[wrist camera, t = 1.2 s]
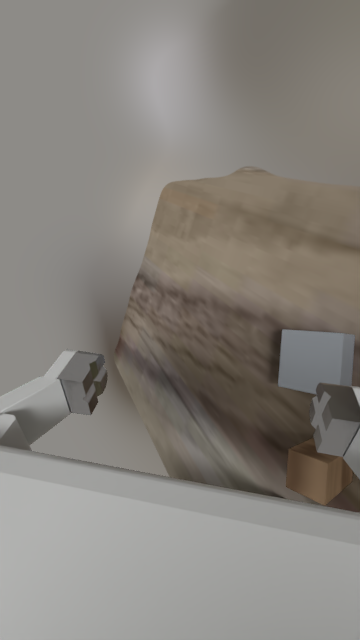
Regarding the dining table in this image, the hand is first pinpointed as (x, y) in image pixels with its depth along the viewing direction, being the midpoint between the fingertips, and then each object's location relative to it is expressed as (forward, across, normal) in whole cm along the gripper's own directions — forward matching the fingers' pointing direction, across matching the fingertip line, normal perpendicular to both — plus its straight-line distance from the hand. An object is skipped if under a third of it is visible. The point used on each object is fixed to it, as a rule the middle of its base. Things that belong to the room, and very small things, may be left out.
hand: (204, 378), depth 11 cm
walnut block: (+21, -19, +34) cm, 44 cm away
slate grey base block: (+31, -16, +24) cm, 42 cm away
